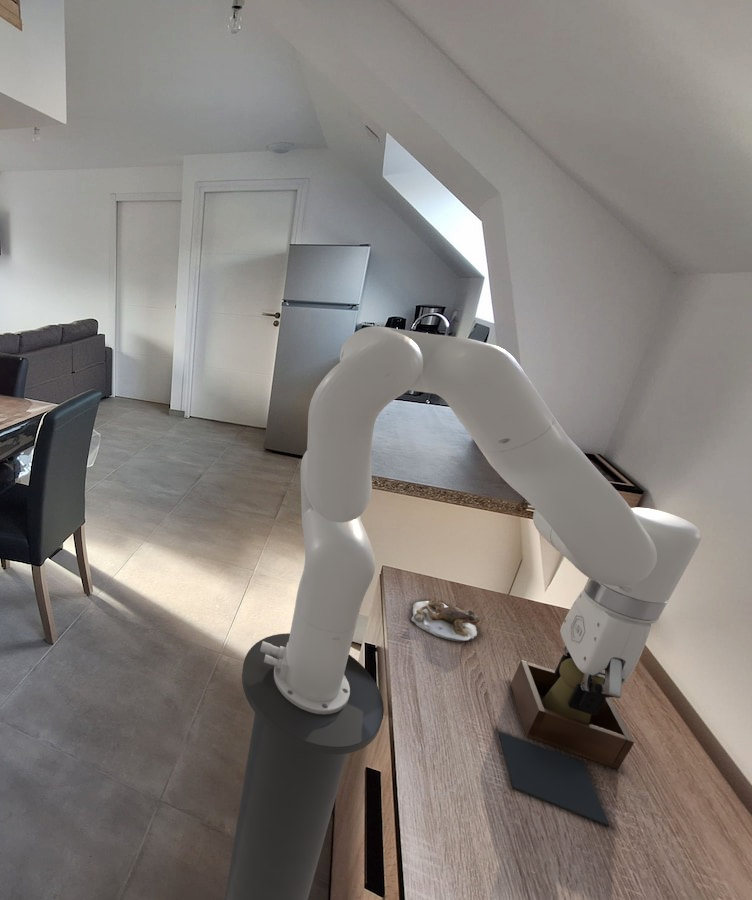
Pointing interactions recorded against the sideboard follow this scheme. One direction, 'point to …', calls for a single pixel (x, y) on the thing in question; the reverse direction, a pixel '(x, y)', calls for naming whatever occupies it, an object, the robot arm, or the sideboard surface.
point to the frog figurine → (445, 620)
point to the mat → (551, 778)
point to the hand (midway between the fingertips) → (574, 693)
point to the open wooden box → (568, 720)
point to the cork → (567, 691)
